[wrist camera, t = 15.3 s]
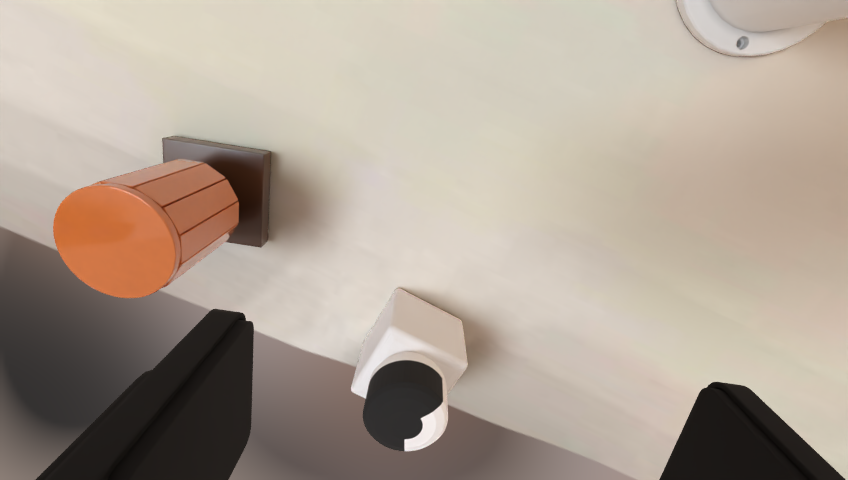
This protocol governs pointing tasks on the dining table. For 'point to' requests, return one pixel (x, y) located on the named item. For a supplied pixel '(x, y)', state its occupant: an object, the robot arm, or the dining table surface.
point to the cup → (145, 226)
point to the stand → (233, 181)
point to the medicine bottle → (409, 372)
